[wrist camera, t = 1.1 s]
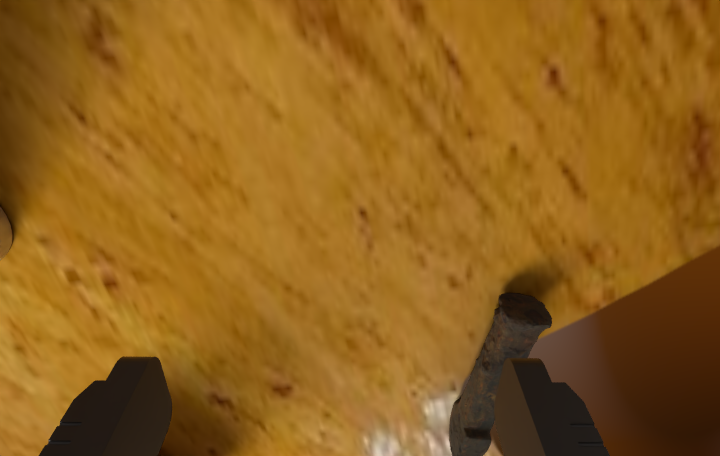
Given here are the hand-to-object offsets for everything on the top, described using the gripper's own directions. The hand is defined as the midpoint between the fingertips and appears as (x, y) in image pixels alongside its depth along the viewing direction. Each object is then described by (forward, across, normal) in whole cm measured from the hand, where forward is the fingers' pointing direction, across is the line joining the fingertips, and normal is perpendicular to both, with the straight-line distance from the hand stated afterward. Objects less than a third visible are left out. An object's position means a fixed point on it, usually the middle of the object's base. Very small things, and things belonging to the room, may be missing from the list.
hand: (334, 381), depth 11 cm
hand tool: (+28, +14, -31) cm, 44 cm away
